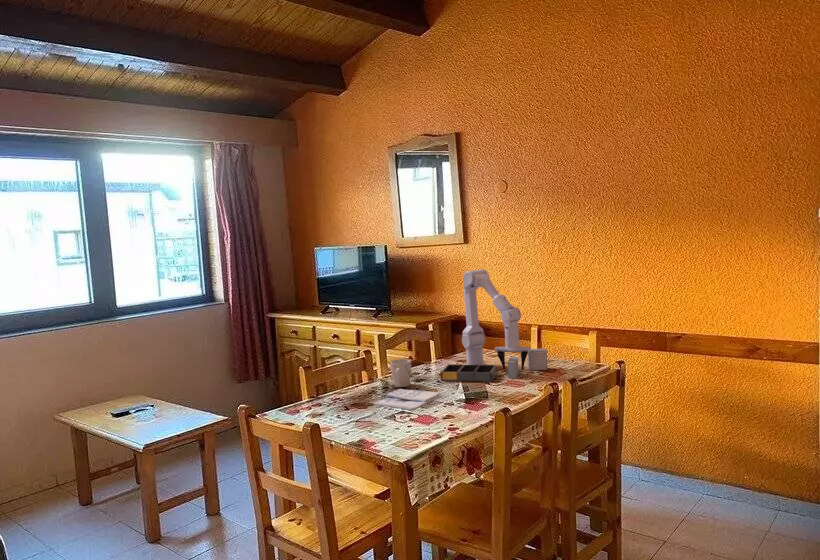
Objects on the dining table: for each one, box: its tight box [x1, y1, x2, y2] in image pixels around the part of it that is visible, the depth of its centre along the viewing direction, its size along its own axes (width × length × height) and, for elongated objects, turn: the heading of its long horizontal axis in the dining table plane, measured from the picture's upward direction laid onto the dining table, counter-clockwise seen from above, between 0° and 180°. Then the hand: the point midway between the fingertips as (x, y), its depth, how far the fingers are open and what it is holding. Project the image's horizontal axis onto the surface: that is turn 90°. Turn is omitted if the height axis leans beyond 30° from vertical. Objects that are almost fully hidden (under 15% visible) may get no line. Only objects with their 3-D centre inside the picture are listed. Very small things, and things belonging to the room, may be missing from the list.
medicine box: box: [527, 348, 549, 371], centre depth 265 cm, size 8×4×9 cm, turn 84°
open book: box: [373, 388, 442, 411], centre depth 229 cm, size 19×20×2 cm
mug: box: [390, 358, 412, 388], centre depth 249 cm, size 11×8×10 cm
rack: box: [440, 363, 498, 383], centre depth 258 cm, size 14×21×4 cm, turn 73°
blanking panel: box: [507, 356, 520, 380], centre depth 256 cm, size 9×3×7 cm, turn 163°
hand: (513, 369), depth 256 cm, fingers open, 7 cm apart
